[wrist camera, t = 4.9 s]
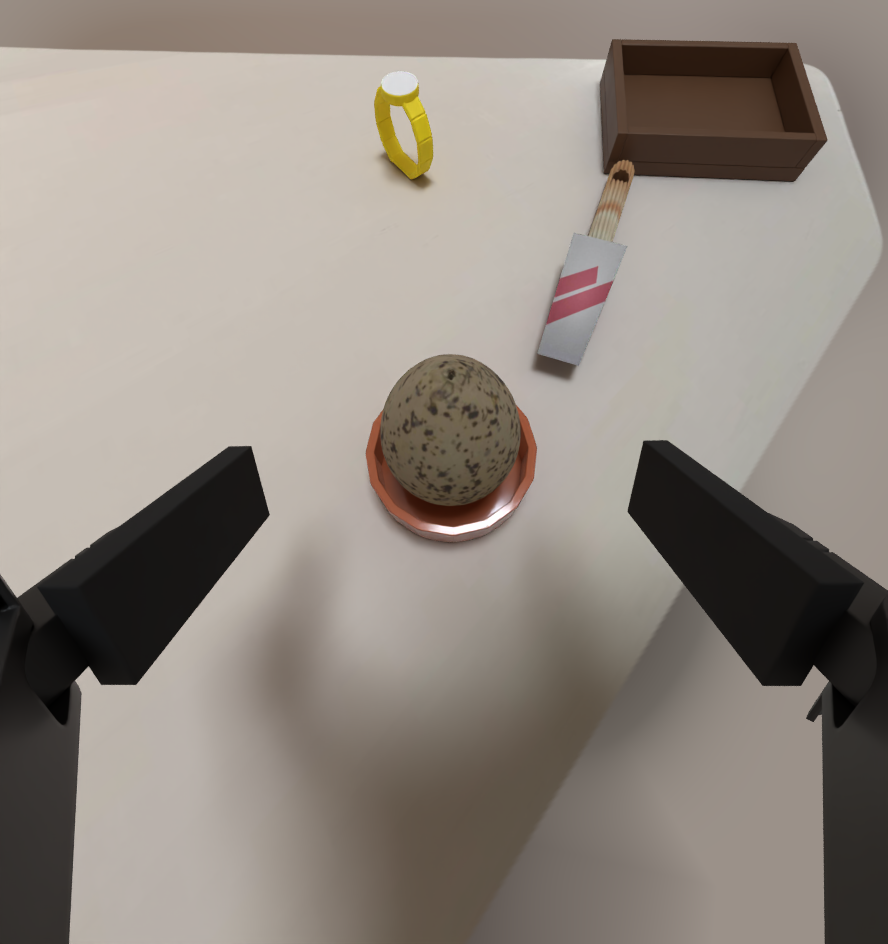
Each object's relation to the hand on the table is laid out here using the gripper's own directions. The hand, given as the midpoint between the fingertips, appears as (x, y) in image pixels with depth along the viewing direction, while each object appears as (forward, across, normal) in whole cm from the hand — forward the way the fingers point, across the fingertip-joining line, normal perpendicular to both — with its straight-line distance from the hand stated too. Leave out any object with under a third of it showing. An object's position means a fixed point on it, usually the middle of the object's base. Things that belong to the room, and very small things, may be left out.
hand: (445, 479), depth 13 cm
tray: (+33, +22, +18) cm, 43 cm away
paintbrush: (+22, +11, +7) cm, 25 cm away
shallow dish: (+10, 0, -4) cm, 11 cm away
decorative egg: (+10, 0, -4) cm, 11 cm away
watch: (+30, -3, +15) cm, 34 cm away
